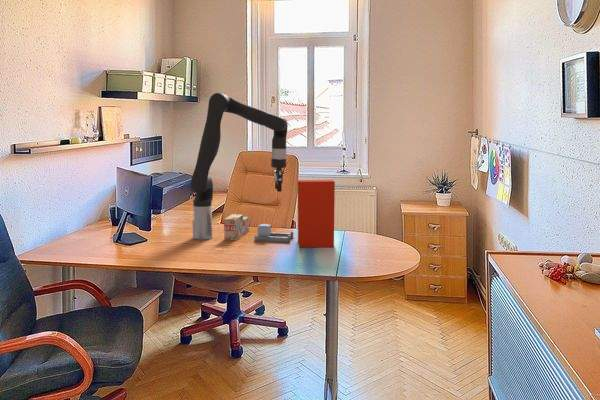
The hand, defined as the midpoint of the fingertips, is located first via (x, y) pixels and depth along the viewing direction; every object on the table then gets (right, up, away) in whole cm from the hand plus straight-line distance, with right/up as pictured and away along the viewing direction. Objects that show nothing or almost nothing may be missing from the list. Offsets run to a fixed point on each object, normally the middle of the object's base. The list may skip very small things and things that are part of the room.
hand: (278, 190), depth 243 cm
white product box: (-22, -25, +12) cm, 35 cm away
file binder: (+19, -27, -4) cm, 33 cm away
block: (-7, -25, +4) cm, 26 cm away
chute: (-2, -26, +3) cm, 26 cm away
